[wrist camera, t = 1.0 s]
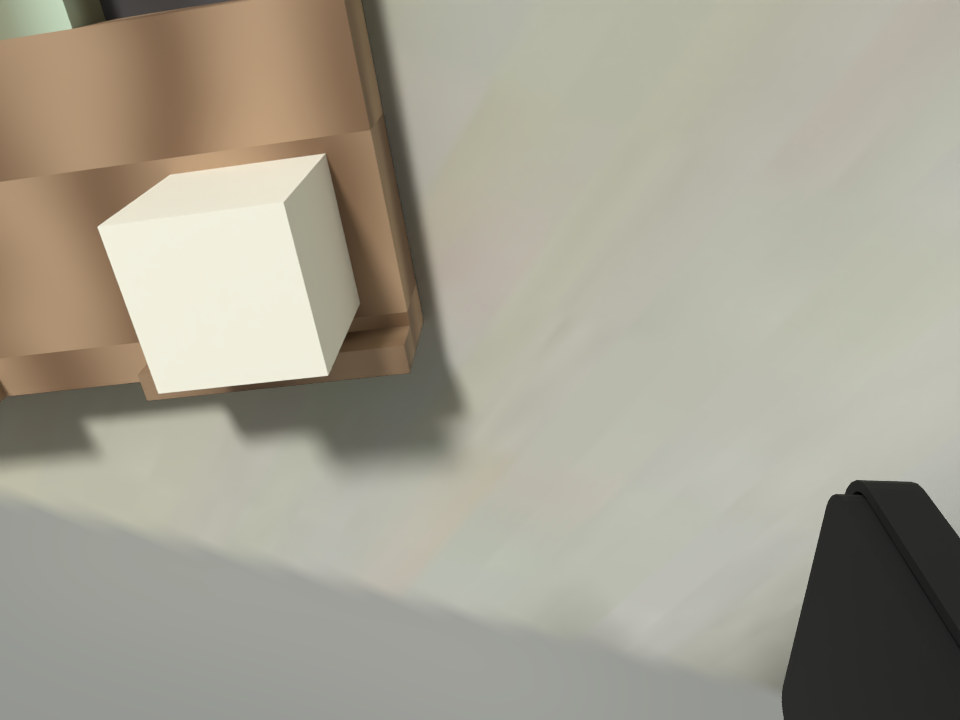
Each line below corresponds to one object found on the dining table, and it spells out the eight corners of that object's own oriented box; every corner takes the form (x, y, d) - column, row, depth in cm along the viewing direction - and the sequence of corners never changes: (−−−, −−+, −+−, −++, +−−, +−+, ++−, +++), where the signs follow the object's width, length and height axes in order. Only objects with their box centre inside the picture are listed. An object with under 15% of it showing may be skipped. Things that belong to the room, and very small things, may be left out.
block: (325, 153, 26) (283, 202, 21) (360, 303, 28) (328, 375, 24) (169, 174, 26) (97, 226, 22) (215, 319, 29) (158, 393, 24)
